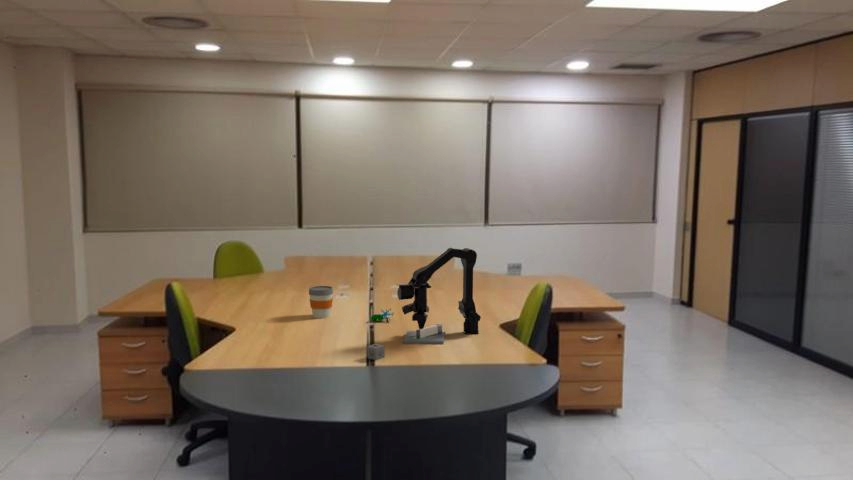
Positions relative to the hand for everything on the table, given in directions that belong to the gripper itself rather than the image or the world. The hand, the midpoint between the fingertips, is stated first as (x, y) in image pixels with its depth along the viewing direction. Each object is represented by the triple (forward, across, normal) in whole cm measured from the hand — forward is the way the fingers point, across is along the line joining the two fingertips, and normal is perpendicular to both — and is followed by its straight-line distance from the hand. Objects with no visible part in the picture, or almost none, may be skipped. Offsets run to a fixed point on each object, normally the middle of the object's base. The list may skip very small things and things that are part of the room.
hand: (421, 331), depth 290 cm
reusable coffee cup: (+3, -38, -56) cm, 68 cm away
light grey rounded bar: (+1, +1, +4) cm, 4 cm away
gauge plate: (+3, +2, +2) cm, 4 cm away
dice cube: (+3, +31, -16) cm, 35 cm away
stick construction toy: (+3, -28, -22) cm, 36 cm away
